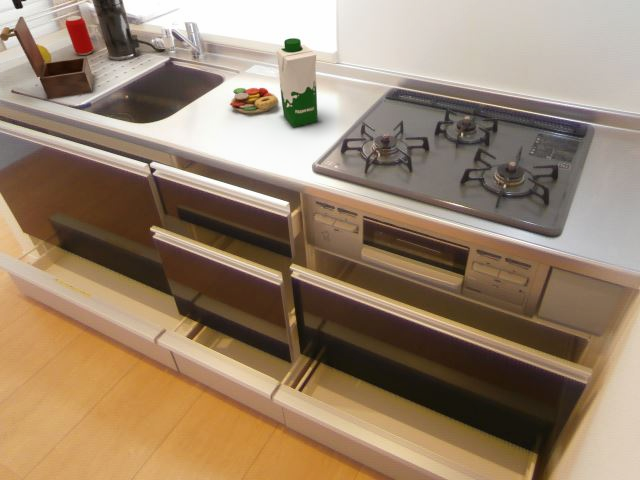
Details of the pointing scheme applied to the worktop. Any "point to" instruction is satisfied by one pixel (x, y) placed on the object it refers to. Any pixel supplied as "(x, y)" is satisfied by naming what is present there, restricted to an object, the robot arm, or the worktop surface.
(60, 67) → the chest
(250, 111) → the toy food set
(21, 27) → the lid
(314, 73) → the soya milk
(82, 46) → the beverage can
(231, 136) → the worktop surface
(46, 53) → the lemon
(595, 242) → the worktop surface
